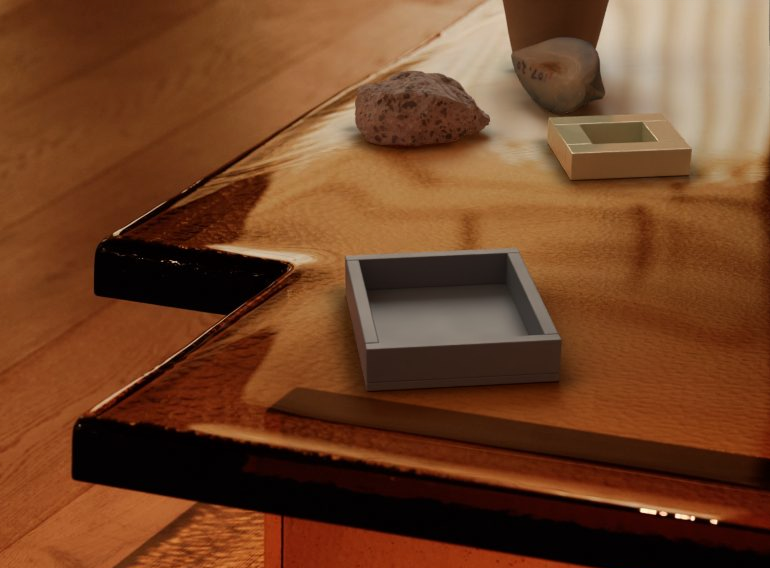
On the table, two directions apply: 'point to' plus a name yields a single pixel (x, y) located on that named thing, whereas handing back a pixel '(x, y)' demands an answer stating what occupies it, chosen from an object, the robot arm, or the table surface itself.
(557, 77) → the seashell
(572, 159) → the beige square tray
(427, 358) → the grey tray
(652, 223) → the table surface
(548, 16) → the flower pot
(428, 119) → the rock
